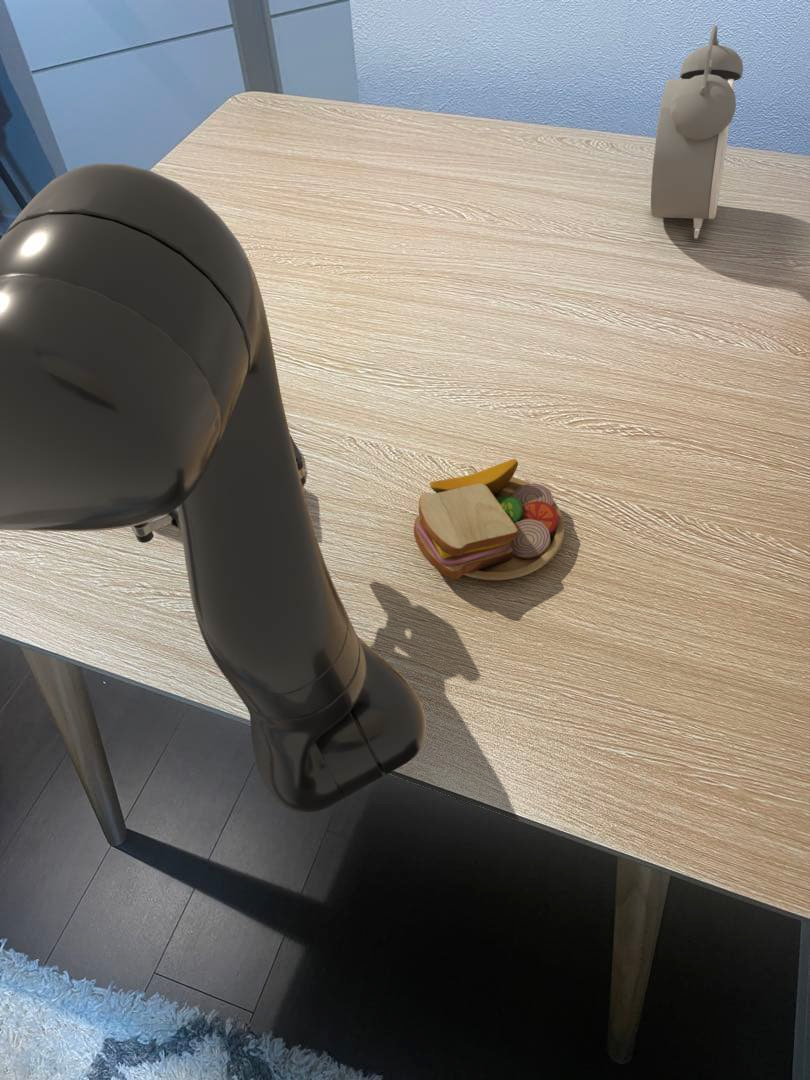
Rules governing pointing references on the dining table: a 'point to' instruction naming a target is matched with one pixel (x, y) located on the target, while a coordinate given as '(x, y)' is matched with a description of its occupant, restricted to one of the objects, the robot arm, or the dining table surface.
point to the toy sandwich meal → (488, 525)
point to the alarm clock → (694, 134)
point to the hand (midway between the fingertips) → (182, 422)
